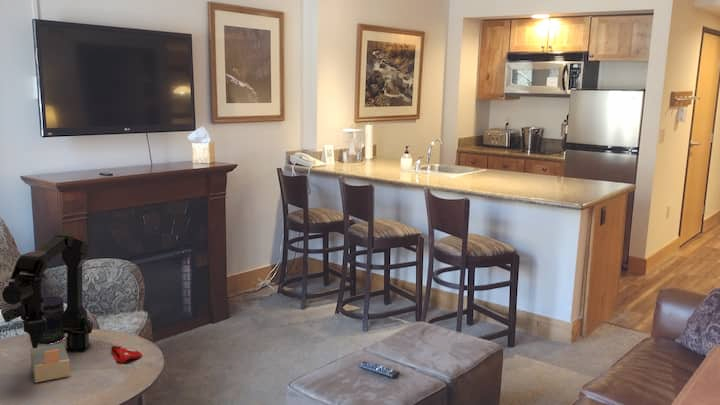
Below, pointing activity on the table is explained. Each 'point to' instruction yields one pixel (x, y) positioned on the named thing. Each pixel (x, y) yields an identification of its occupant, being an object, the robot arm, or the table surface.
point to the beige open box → (52, 367)
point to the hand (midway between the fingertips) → (33, 343)
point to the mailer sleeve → (39, 354)
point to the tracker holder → (124, 353)
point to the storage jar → (52, 320)
